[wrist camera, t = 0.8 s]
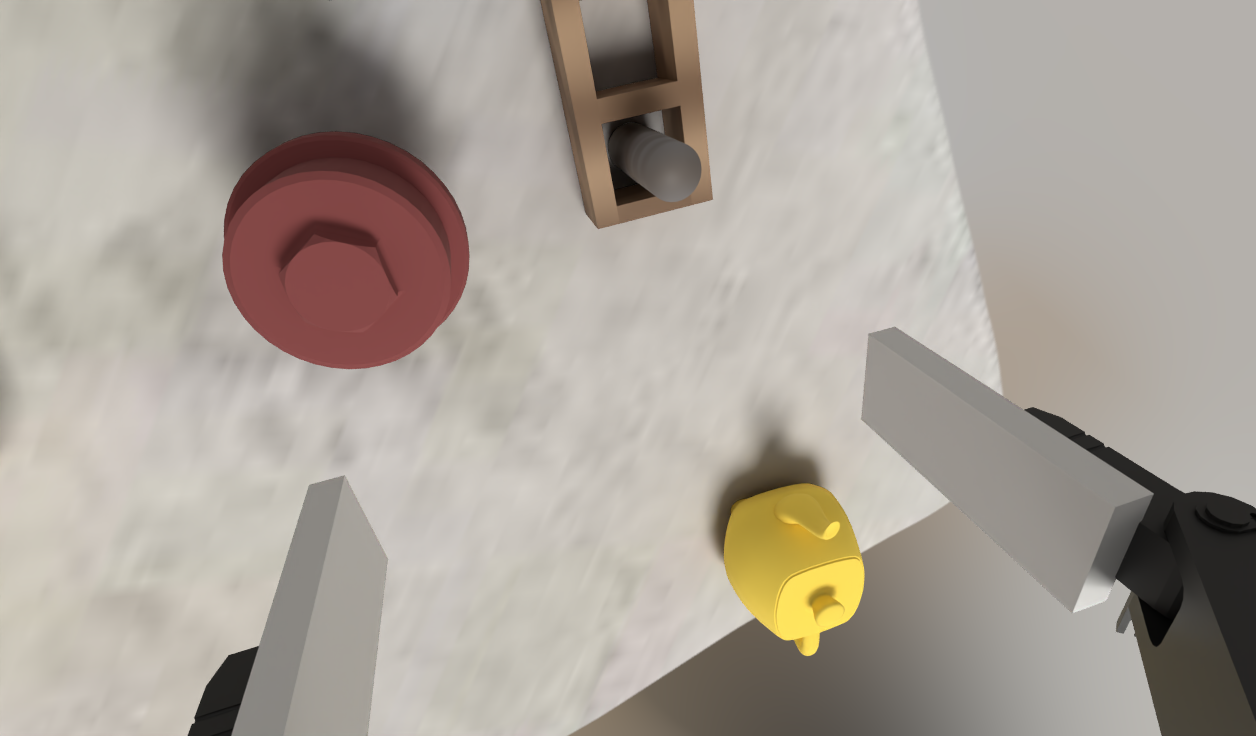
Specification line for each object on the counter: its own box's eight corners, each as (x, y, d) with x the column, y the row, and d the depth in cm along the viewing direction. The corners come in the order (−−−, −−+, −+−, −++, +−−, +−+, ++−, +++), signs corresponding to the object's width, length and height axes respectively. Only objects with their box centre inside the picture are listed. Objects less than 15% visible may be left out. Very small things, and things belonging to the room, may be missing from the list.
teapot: (708, 454, 48) (767, 549, 39) (828, 423, 50) (912, 506, 41) (714, 597, 58) (764, 700, 48) (816, 566, 59) (882, 660, 50)
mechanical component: (266, 273, 33) (279, 87, 29) (448, 308, 37) (481, 146, 33) (182, 380, 23) (185, 113, 19) (448, 413, 26) (496, 195, 23)
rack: (537, -15, 30) (562, -31, 23) (666, -40, 31) (726, -63, 24) (585, 213, 36) (617, 253, 29) (691, 187, 37) (745, 219, 30)
